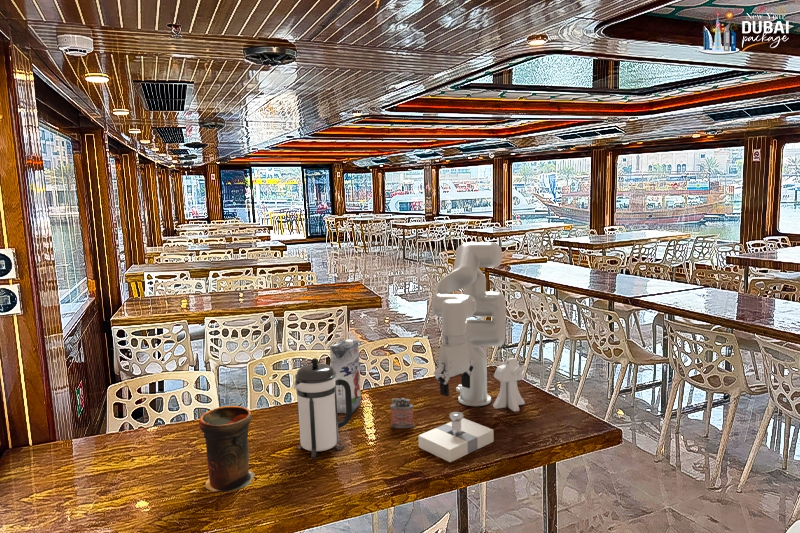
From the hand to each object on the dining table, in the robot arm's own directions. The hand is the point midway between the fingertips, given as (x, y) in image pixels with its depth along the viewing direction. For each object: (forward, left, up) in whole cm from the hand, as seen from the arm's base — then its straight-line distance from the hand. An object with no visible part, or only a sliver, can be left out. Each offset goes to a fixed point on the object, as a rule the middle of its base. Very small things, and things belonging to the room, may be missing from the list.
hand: (455, 391), depth 181 cm
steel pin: (0, 0, -18) cm, 18 cm away
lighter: (-23, -3, -18) cm, 29 cm away
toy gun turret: (-9, +37, -18) cm, 42 cm away
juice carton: (-49, -8, -18) cm, 53 cm away
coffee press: (-29, -32, -18) cm, 47 cm away
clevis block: (0, 0, -18) cm, 18 cm away
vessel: (-30, -63, -18) cm, 72 cm away
